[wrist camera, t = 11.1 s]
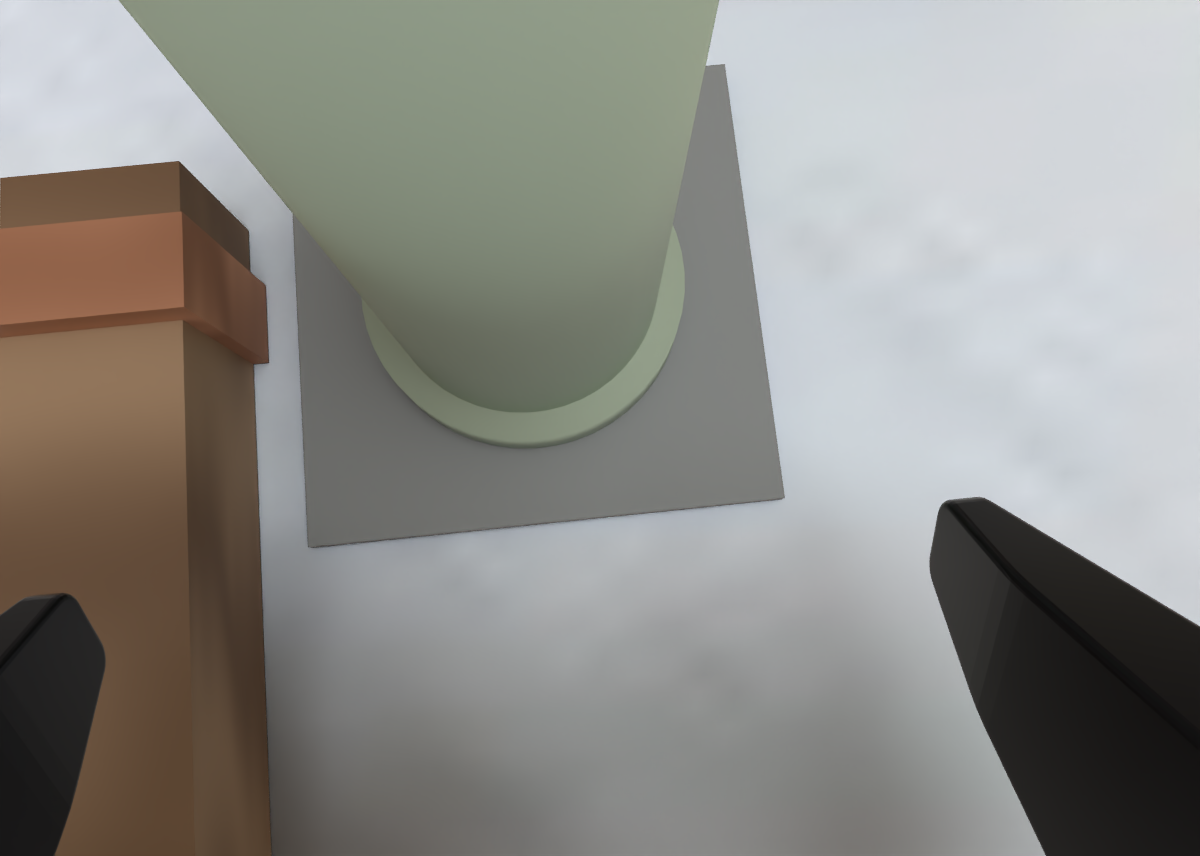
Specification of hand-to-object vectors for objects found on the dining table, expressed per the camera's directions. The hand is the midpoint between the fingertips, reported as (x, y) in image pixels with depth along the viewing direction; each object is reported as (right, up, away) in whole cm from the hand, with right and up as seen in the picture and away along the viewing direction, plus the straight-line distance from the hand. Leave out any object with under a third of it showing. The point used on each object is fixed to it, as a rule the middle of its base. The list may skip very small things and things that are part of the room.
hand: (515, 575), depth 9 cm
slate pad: (-1, +4, +8) cm, 9 cm away
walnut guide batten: (-7, -1, +7) cm, 10 cm away
